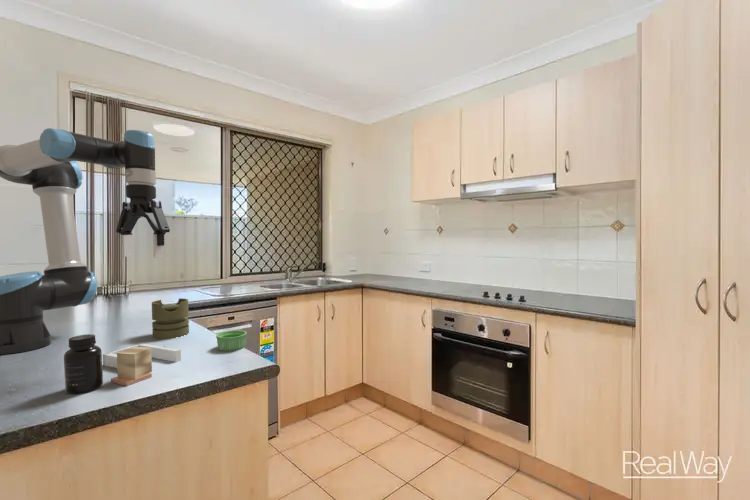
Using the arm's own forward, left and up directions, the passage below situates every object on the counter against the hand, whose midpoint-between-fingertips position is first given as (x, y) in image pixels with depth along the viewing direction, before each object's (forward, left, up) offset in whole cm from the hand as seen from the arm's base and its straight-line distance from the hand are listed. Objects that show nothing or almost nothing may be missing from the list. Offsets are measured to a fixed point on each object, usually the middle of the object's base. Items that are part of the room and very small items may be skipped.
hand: (143, 257), depth 110 cm
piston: (-11, +17, -29) cm, 35 cm away
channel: (+8, -6, -29) cm, 30 cm away
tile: (+17, -16, -29) cm, 37 cm away
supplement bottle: (+12, -23, -29) cm, 39 cm away
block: (+17, -14, -28) cm, 36 cm away
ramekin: (+20, +14, -29) cm, 38 cm away
